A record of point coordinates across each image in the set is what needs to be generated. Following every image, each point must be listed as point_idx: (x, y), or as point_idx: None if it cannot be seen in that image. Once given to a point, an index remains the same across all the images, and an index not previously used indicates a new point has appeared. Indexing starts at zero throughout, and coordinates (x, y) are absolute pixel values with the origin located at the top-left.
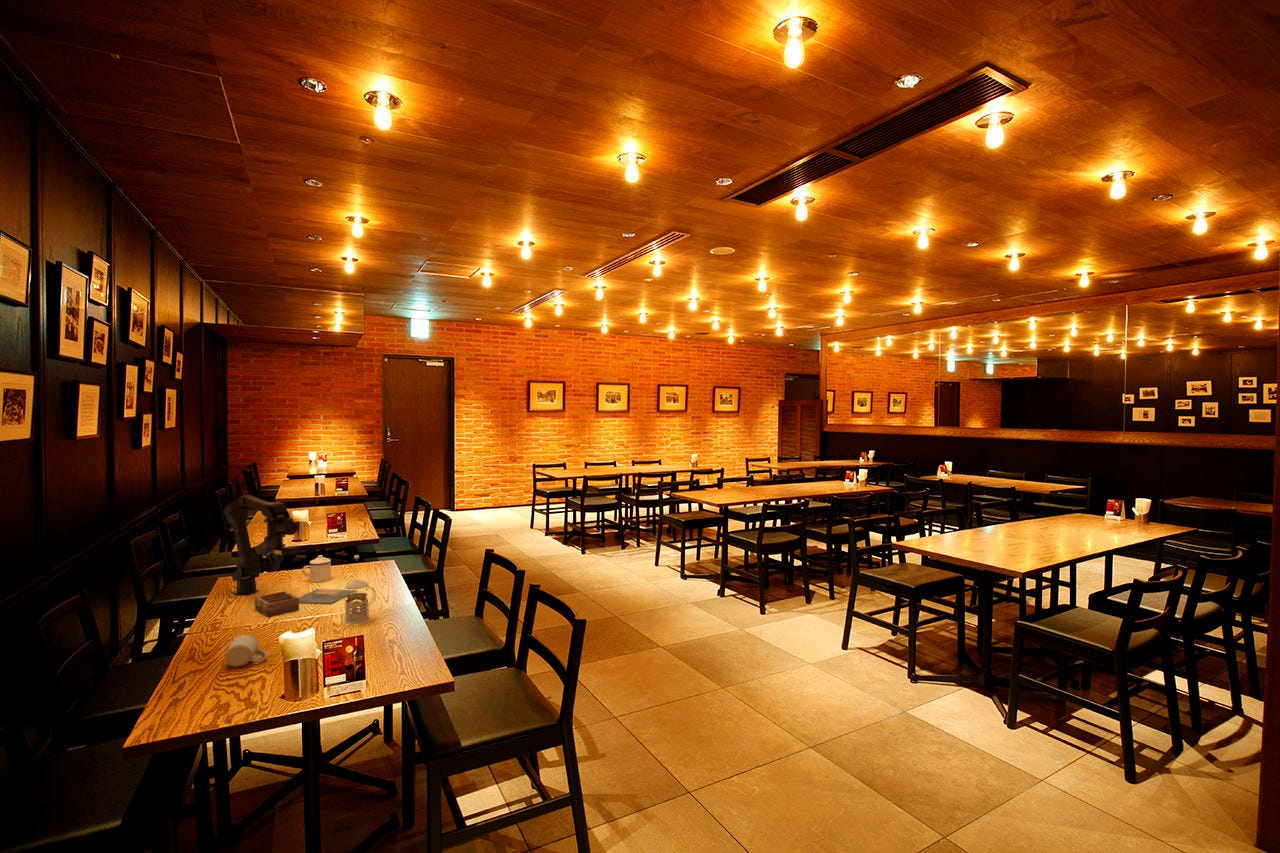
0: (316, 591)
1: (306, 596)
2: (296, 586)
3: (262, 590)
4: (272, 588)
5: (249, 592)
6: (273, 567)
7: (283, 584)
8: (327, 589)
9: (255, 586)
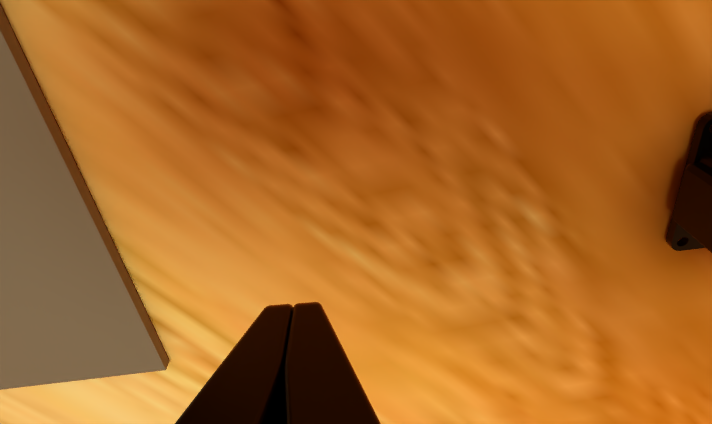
0: (100, 325)
1: (21, 194)
2: (422, 391)
3: (636, 266)
4: (581, 322)
5: (708, 154)
6: (301, 353)
7: (558, 402)
8: (72, 379)
9: (703, 235)
